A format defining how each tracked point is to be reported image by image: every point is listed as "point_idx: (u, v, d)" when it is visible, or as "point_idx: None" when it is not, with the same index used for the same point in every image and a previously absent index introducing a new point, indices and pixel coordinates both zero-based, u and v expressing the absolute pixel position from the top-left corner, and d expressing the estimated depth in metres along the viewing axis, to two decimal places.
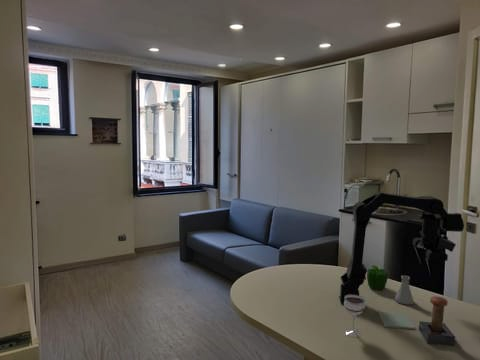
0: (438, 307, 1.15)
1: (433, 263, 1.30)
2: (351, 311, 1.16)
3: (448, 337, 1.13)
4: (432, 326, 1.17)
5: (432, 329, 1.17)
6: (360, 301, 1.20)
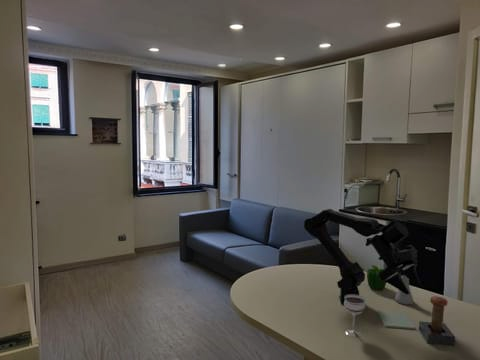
0: (438, 307, 1.15)
1: (396, 282, 1.21)
2: (351, 311, 1.16)
3: (448, 337, 1.13)
4: (432, 326, 1.17)
5: (432, 329, 1.17)
6: (360, 301, 1.20)
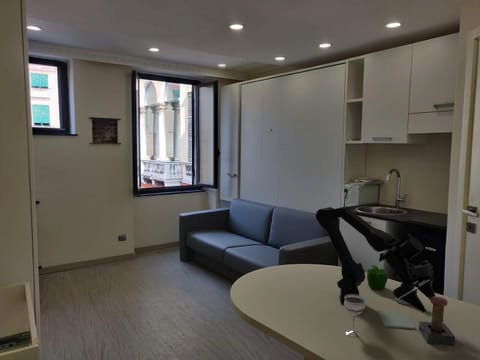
0: (438, 307, 1.15)
1: (412, 299, 1.17)
2: (351, 311, 1.16)
3: (448, 337, 1.13)
4: (432, 326, 1.17)
5: (432, 329, 1.17)
6: (360, 301, 1.20)
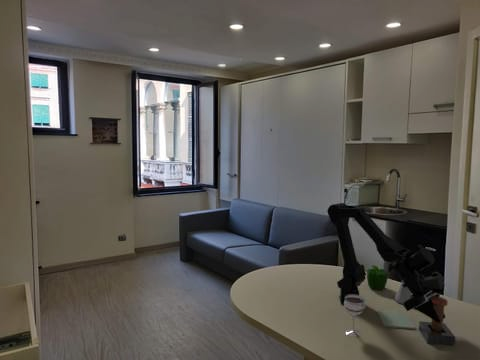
0: (438, 307, 1.15)
1: (426, 309, 1.16)
2: (351, 311, 1.16)
3: (448, 337, 1.13)
4: (432, 326, 1.17)
5: (432, 329, 1.17)
6: (360, 301, 1.20)
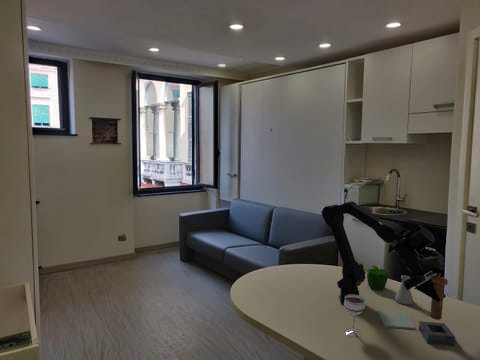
0: (438, 286, 1.14)
1: (427, 288, 1.15)
2: (351, 311, 1.16)
3: (448, 337, 1.13)
4: (432, 306, 1.16)
5: (432, 309, 1.16)
6: (360, 301, 1.20)
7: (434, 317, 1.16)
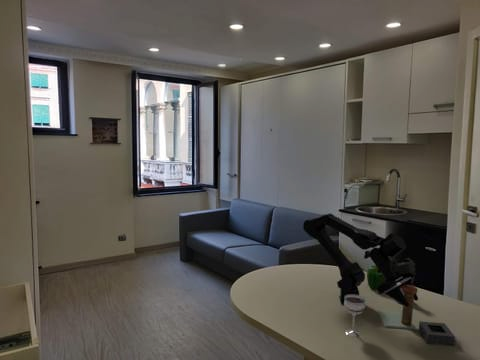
0: (408, 295, 1.22)
1: (396, 294, 1.22)
2: (351, 311, 1.16)
3: (448, 337, 1.13)
4: (403, 313, 1.24)
5: (403, 315, 1.24)
6: (360, 301, 1.20)
7: (404, 323, 1.24)
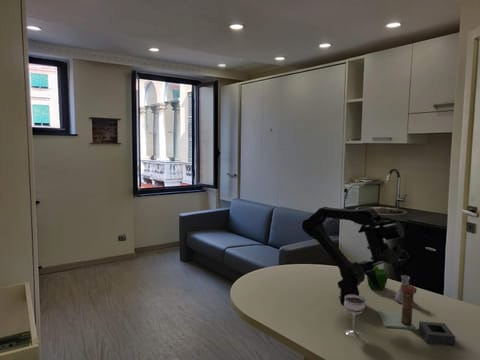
0: (408, 295, 1.22)
1: (371, 275, 1.29)
2: (351, 311, 1.16)
3: (448, 337, 1.13)
4: (403, 313, 1.24)
5: (403, 315, 1.24)
6: (360, 301, 1.20)
7: (404, 323, 1.24)
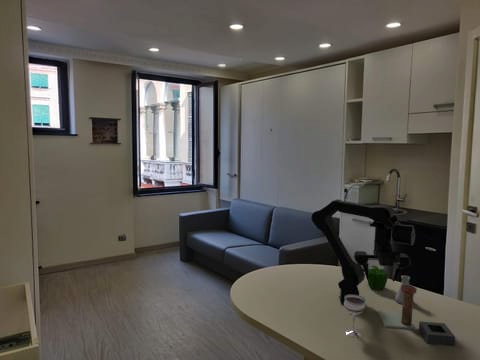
0: (408, 295, 1.22)
1: None
2: (351, 311, 1.16)
3: (448, 337, 1.13)
4: (403, 313, 1.24)
5: (403, 315, 1.24)
6: (360, 301, 1.20)
7: (404, 323, 1.24)
